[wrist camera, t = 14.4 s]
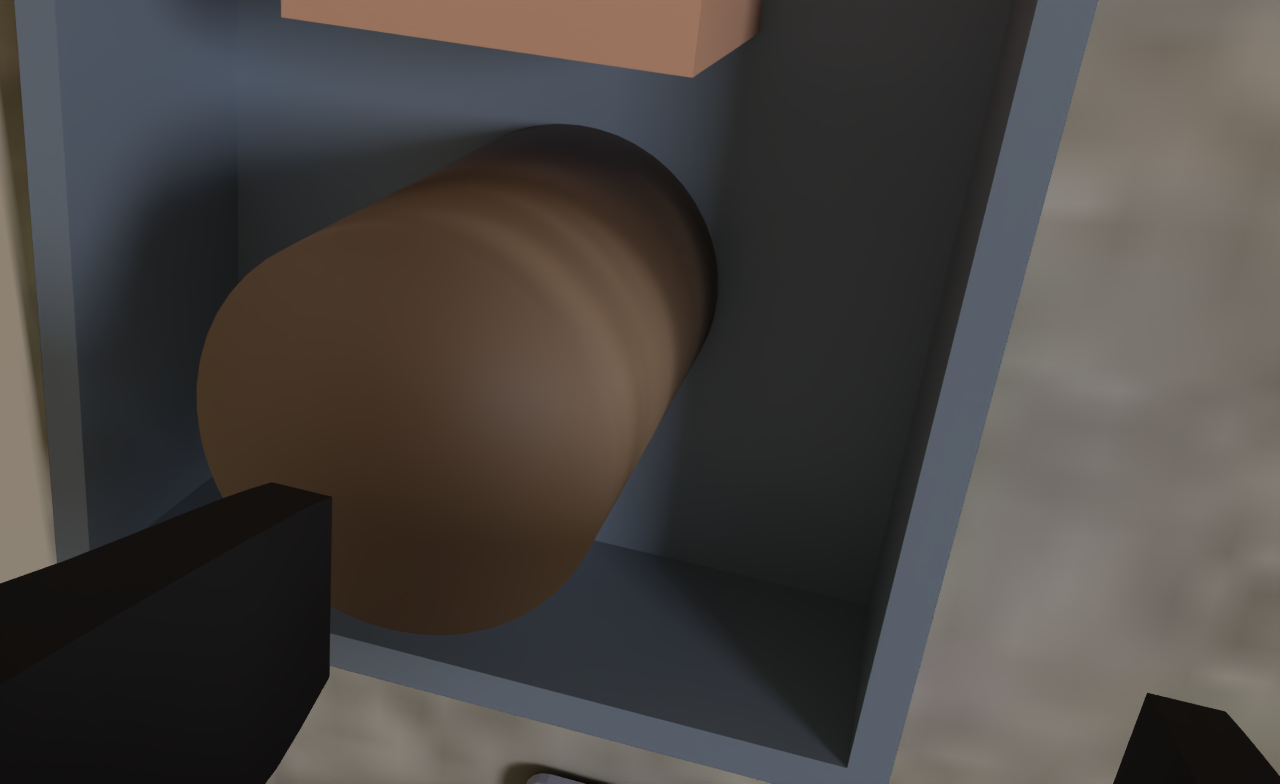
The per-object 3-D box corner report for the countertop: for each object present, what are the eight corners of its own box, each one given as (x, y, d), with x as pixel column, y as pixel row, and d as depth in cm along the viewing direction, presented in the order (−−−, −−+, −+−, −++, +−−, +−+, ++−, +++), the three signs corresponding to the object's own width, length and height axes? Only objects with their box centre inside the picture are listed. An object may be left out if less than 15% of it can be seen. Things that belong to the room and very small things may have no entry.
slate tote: (896, 623, 22) (880, 812, 17) (228, 463, 24) (59, 594, 19) (1191, -542, 15) (1295, -736, 10) (217, -617, 17) (-47, -803, 13)
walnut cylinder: (751, 169, 19) (649, 303, 12) (680, 450, 21) (563, 687, 15) (450, 89, 19) (209, 178, 13) (409, 369, 21) (185, 562, 15)
